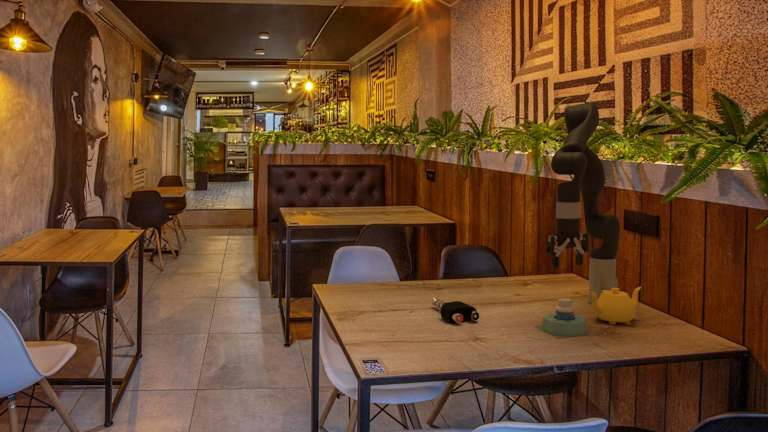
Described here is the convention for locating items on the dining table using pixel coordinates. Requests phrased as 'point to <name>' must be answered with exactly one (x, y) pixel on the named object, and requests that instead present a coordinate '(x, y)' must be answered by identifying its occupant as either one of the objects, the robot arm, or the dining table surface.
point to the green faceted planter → (564, 325)
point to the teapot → (615, 305)
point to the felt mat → (564, 336)
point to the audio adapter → (456, 311)
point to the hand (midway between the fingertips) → (567, 266)
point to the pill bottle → (564, 310)
